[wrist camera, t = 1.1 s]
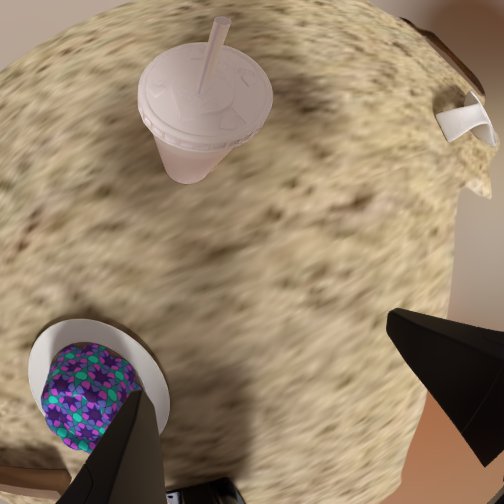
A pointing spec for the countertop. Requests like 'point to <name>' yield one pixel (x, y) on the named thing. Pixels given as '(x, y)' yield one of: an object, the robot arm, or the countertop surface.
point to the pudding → (90, 380)
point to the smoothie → (202, 103)
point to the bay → (34, 482)
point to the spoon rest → (467, 121)
